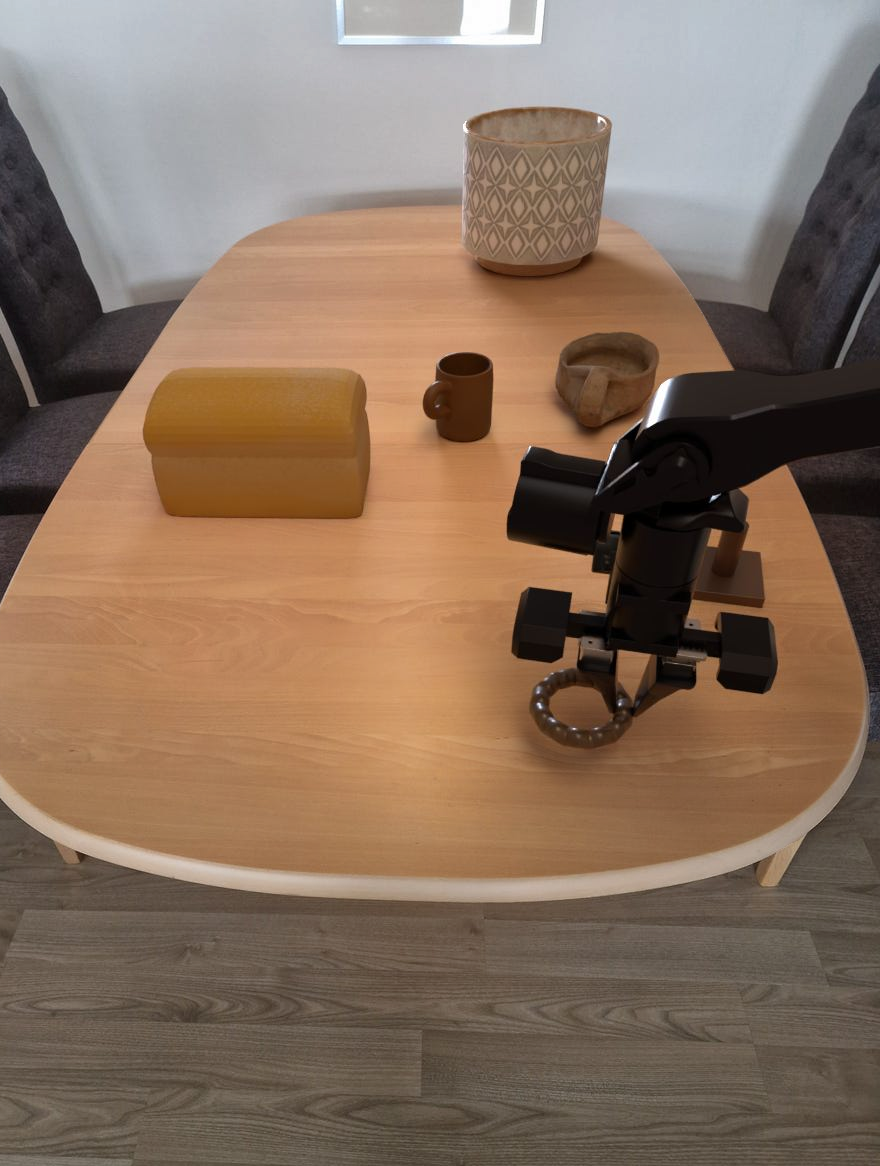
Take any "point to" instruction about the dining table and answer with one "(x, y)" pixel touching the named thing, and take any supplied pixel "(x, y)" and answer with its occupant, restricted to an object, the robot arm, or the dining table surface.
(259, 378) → the bread
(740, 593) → the stand
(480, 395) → the mug
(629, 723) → the ring
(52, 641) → the dining table surface
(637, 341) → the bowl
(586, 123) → the planter
